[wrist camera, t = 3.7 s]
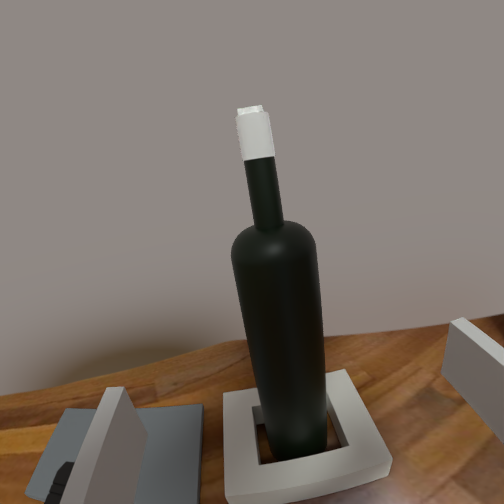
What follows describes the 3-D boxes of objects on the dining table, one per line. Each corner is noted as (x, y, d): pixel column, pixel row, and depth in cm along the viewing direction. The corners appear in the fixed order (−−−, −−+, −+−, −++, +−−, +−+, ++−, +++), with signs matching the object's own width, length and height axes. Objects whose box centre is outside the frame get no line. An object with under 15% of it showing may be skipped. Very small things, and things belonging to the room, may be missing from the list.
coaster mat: (204, 408, 35) (202, 403, 34) (198, 520, 19) (196, 517, 19) (68, 412, 34) (66, 408, 34) (28, 497, 19) (24, 493, 18)
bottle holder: (344, 387, 34) (344, 368, 33) (388, 475, 21) (392, 458, 20) (228, 410, 34) (223, 392, 33) (232, 510, 20) (224, 496, 19)
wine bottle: (298, 416, 31) (255, 115, 23) (338, 439, 27) (313, 99, 18) (258, 446, 28) (189, 120, 19) (299, 475, 23) (243, 96, 15)
